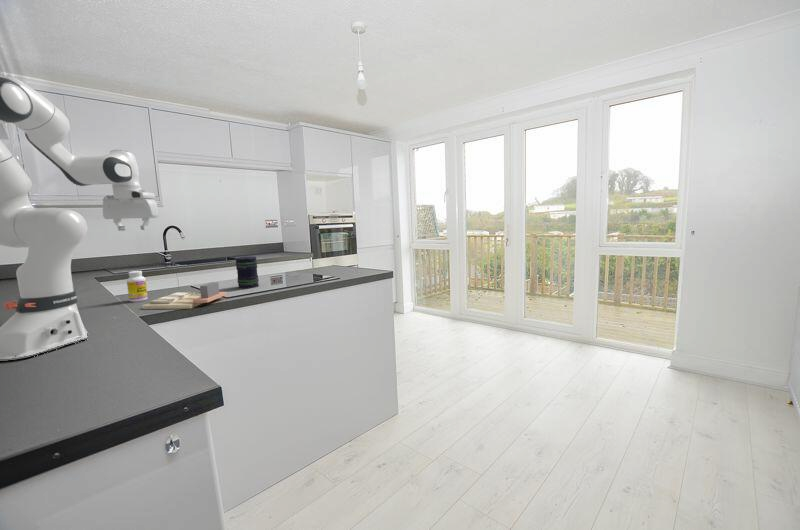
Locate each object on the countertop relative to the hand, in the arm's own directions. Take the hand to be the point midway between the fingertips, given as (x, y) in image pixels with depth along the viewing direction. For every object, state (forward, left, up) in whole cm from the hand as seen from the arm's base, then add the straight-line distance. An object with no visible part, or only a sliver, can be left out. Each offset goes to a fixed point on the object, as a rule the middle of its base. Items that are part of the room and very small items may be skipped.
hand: (133, 230), depth 138 cm
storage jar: (+38, -25, -31) cm, 55 cm away
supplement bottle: (+12, +12, -31) cm, 36 cm away
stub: (+7, -24, -30) cm, 39 cm away
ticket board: (+7, -12, -31) cm, 34 cm away
